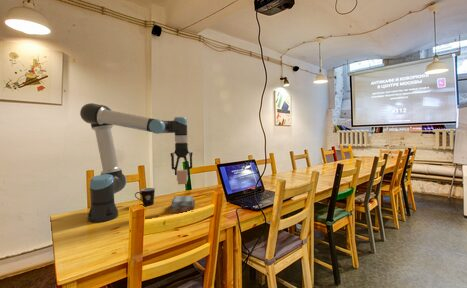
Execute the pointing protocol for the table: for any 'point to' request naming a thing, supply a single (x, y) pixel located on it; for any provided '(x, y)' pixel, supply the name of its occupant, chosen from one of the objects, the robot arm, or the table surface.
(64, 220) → the table surface
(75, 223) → the table surface
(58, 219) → the table surface
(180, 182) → the top brick
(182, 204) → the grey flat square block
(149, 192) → the coffee mug
